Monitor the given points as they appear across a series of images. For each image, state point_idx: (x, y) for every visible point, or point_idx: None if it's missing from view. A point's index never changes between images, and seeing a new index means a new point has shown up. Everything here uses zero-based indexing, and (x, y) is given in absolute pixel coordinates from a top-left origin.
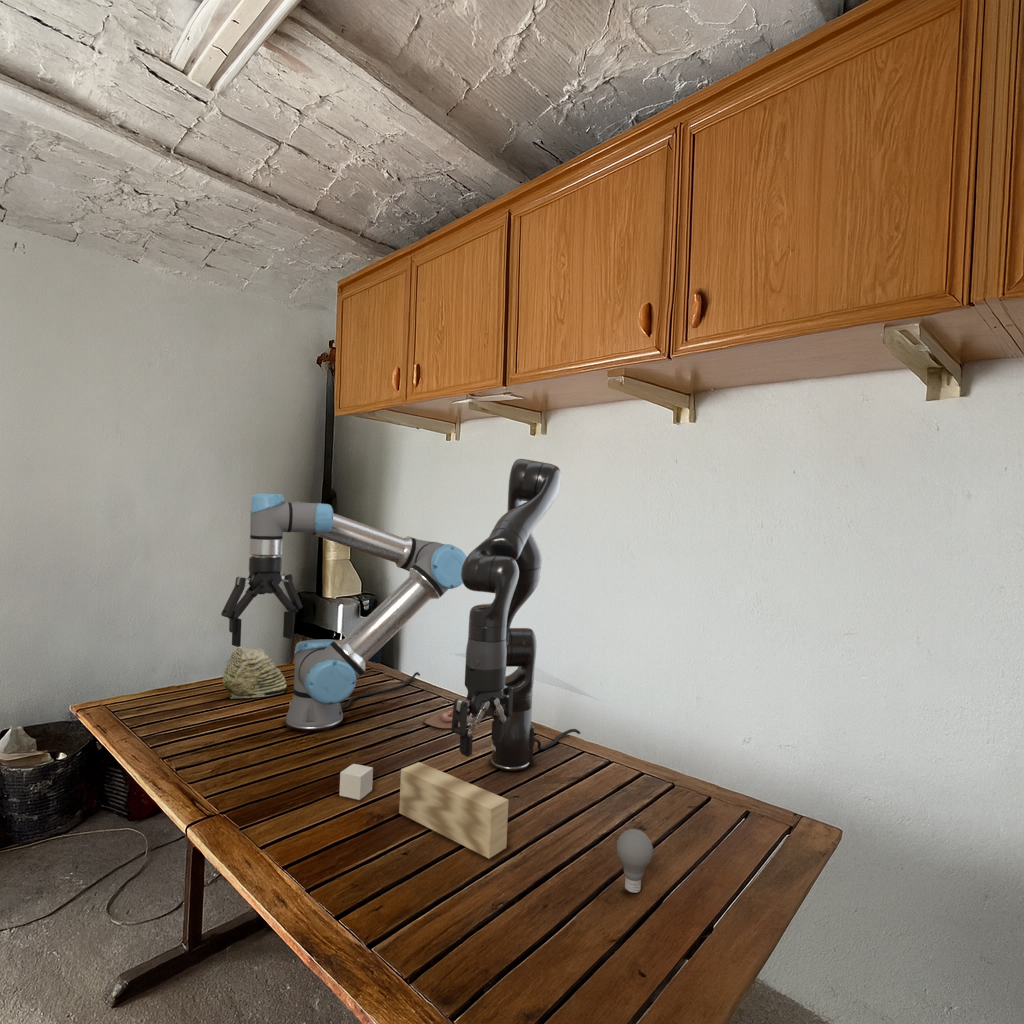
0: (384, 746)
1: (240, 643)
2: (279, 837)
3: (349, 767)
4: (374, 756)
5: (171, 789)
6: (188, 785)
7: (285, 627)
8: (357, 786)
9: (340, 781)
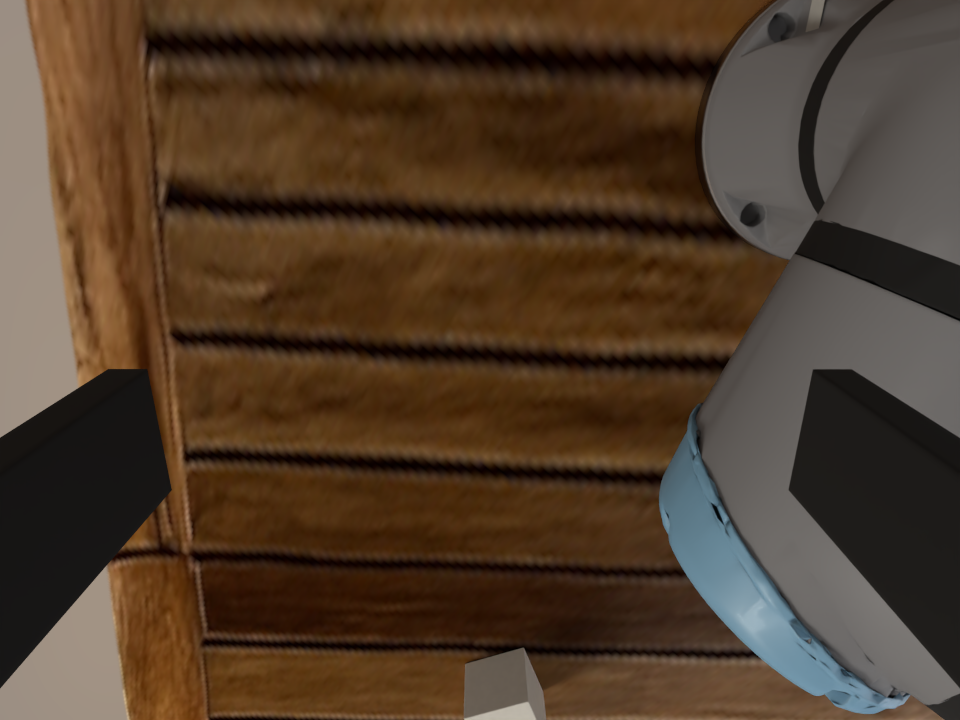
0: None
1: (151, 512)
2: (258, 714)
3: (502, 712)
4: None
5: (116, 340)
6: (167, 349)
7: (886, 480)
8: None
9: (464, 698)
